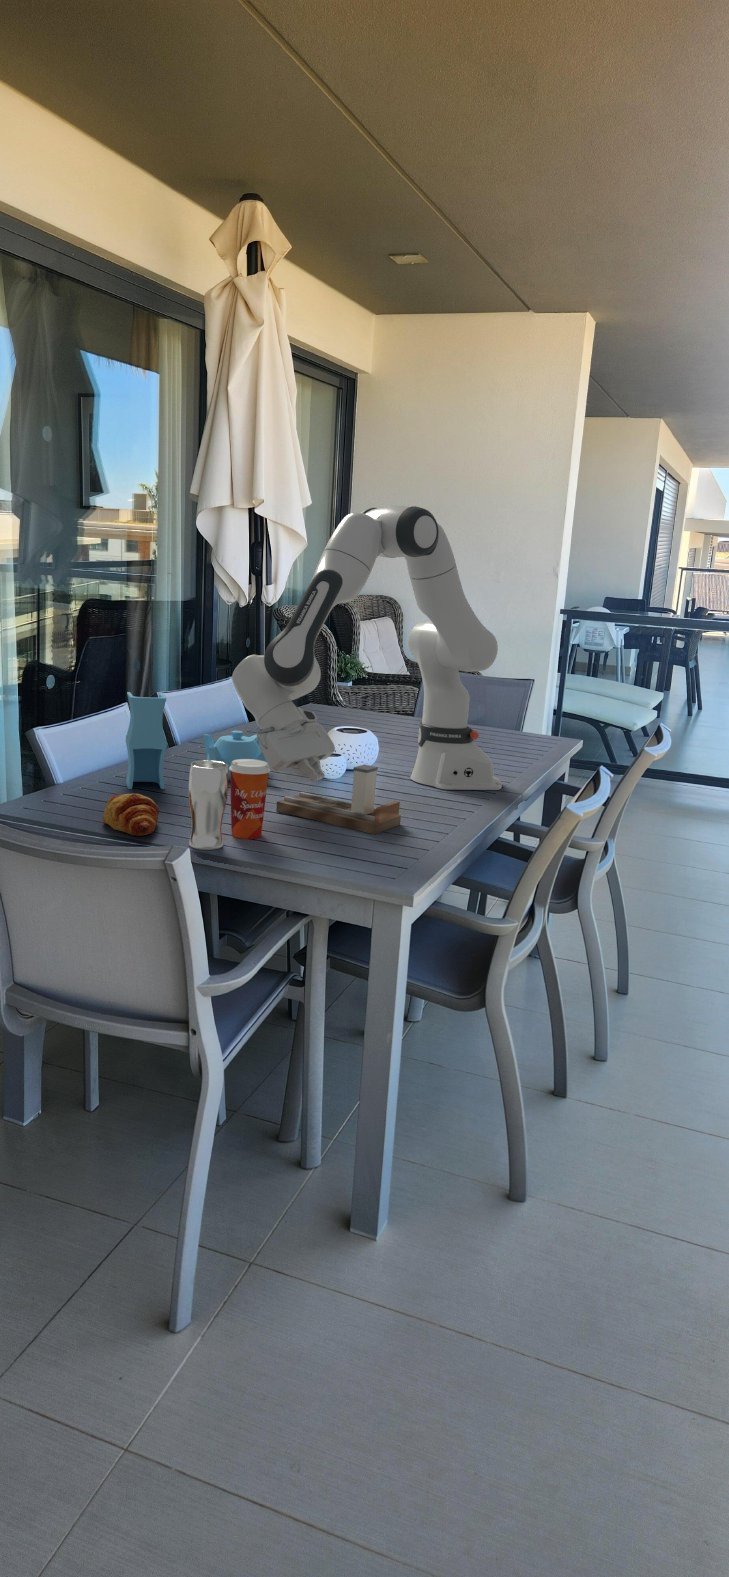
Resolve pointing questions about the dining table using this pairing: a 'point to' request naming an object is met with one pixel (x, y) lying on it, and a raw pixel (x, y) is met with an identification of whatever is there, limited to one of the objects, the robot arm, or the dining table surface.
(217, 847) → the beer glass
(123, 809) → the croissant
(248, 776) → the paper cup
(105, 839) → the dining table surface
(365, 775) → the fader knob
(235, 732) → the teapot
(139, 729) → the vase
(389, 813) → the brown wooden tray
